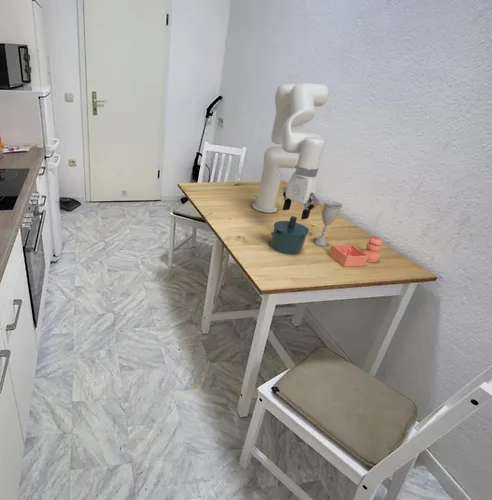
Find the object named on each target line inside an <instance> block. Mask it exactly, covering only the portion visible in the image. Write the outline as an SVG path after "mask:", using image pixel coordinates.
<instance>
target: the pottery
mask: <svg viewBox="0 0 492 500" xmlns="http://www.w3.org/2000/svg"><path fill="white" fill-rule="evenodd" d="M383 244H384V242H383V240H382V239H381V236H379V235H375V236H374V237H370V238H369V239H368V242H367V243H366V245H365V247H366V248H364V249H363V250H361V249H359V248H358V247H356V246H355V245H353V244H332V245H331V247H330V250H329V252H328V255H329V256H330V257H332V258H333V259H334V260H335V261H336V262H338V264H340V265H341V266H343V267H361V266H362V267H363V266H366V263H367V262H369V263H377V262H378V261H379V260H380V258H381V253H380V251H381V250H382V248H383V247H382V245H383Z"/></svg>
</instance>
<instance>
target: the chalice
mask: <svg viewBox="0 0 492 500" xmlns="http://www.w3.org/2000/svg"><path fill="white" fill-rule="evenodd" d="M323 204H324V205H323V207H322V211H321V218H322V219H321V220H322V223H323V224H324V226H323V228H322V231H321V235H320V236H318V237H316V239H315V240H314V244H316V245H318V246H327V245H328V243H327V238H326V237H325V235H326V234H327V232H326V231H327V230H328V226H330V225H331V224H332V223H333V222H335V220H337V218H338V216H339V213H340V210H341V208H342V207H343V204H342V203H340V202H338V201H335V200H330V199H329V200H324V201H323Z"/></svg>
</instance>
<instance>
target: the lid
mask: <svg viewBox="0 0 492 500" xmlns="http://www.w3.org/2000/svg"><path fill="white" fill-rule="evenodd" d="M297 220H298V217H297V216H293V215H292V216H291V215H290V218H289V220H278V221H275V222H274V223H273V229H274V228H275V229H276V230H278V231H279V232H281V233H284V234H288V235H293V236H304V235H306V234H307V235H309V231H310V230H309V228H308V227H307V226H306V225H303V224H301V223H298V222H297ZM307 228H308V229H307ZM307 235H306V236H307Z"/></svg>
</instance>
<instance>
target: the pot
mask: <svg viewBox="0 0 492 500" xmlns="http://www.w3.org/2000/svg"><path fill="white" fill-rule="evenodd" d="M306 228H307V229H308V230H309V228H308V227H306ZM270 235H271V239H270V243H269V244H270V247H271V248H272V249H273V250H274V251H276V252H279V253H282V254H286V255H299V254H300V253H302V251H303V249H304V245H305V241H306V237H307V235H308V234H306V235H304V236H293V235H288V234H284V233H281V232H279V231H278V230H276V229H275V228H274V227H273V231H271V232H270Z"/></svg>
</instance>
